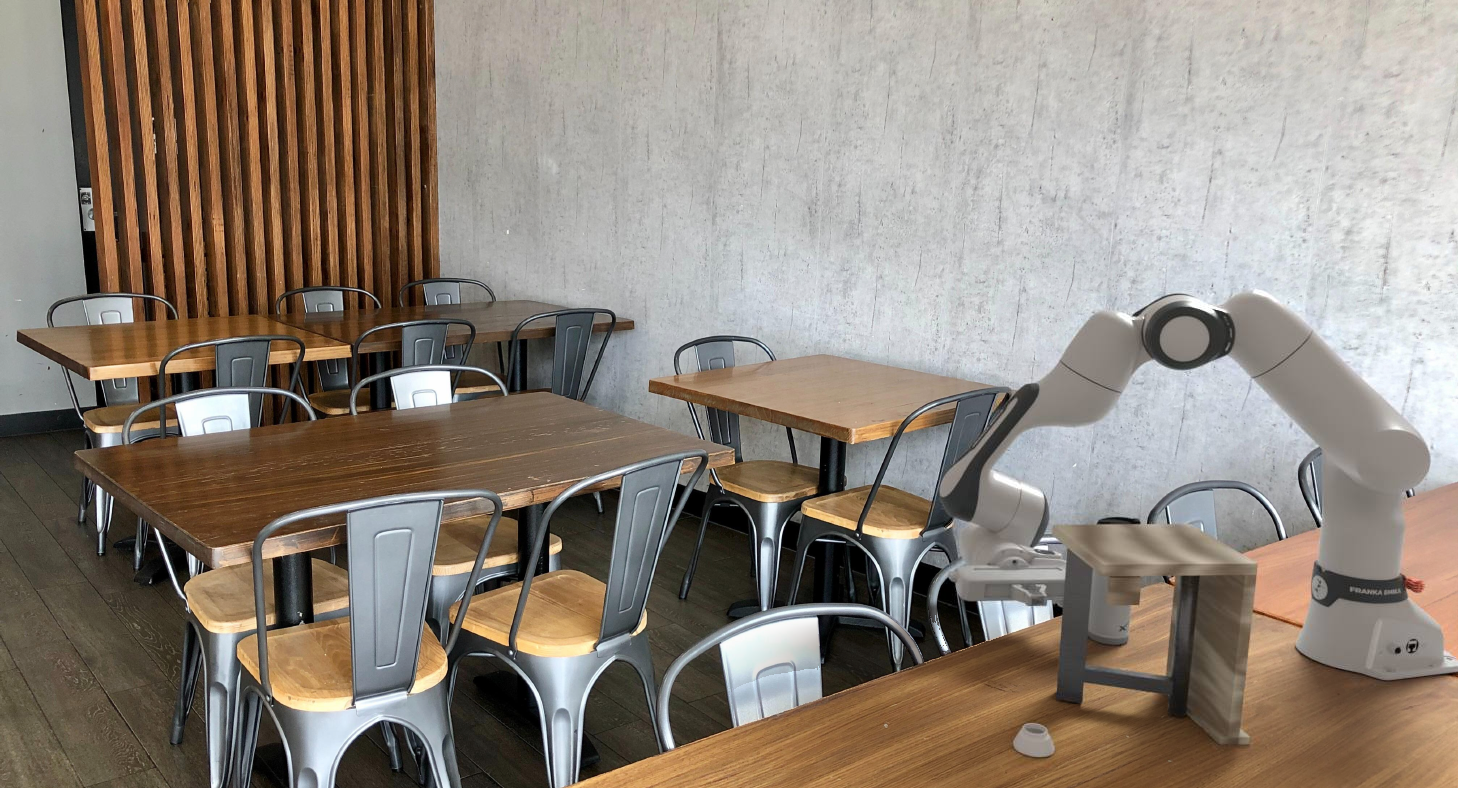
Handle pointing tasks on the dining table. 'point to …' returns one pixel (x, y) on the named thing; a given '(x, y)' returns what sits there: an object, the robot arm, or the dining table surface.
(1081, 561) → the frame
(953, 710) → the dining table surface
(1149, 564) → the side table
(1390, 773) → the dining table surface
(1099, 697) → the dining table surface
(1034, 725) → the white jar
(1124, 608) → the travel mug
